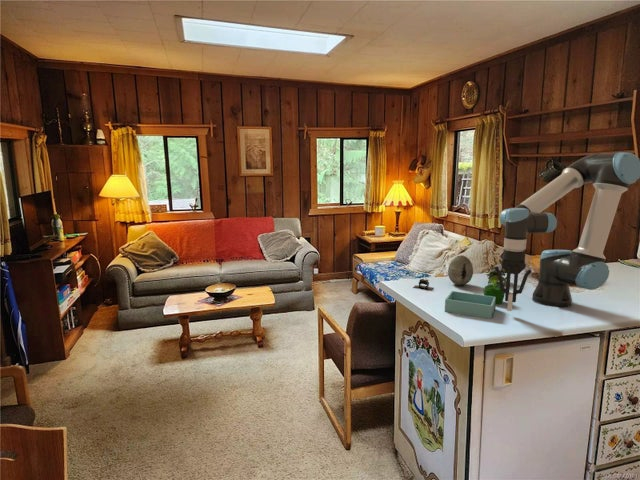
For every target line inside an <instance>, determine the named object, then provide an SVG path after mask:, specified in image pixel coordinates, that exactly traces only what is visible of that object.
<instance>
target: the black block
mask: <svg viewBox="0 0 640 480" xmlns="http://www.w3.org/2000/svg"><path fill="white" fill-rule="evenodd" d="M429 285H430V282H429V279H427V278H426V279H425V278H420V279H419V281H418V285H417V284H415V285H414V286H413V287H412V289H417V290H426V291H431V292H432V291H433V290H434V289H435V287H432V286H429Z"/></svg>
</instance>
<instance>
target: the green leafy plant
mask: <svg viewBox="0 0 640 480" xmlns="http://www.w3.org/2000/svg"><path fill="white" fill-rule="evenodd" d="M496 265H497V264H495V265H491V266H492V267H491V269H490V270H489V271H488V273H486V274H485V275H486V277H487V280H488V281H487V285H489V284H492V283H493V284H494V282H493V281H494V280H496V283H499V280H498V274H497V272H496V270H495V266H496ZM501 273H502V278H503V284H504V287H506V279H507V276H506V274H507V273H506V272H505V270H504V269H503V267H502V270H501Z"/></svg>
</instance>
